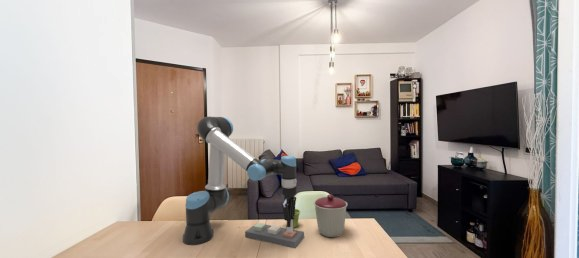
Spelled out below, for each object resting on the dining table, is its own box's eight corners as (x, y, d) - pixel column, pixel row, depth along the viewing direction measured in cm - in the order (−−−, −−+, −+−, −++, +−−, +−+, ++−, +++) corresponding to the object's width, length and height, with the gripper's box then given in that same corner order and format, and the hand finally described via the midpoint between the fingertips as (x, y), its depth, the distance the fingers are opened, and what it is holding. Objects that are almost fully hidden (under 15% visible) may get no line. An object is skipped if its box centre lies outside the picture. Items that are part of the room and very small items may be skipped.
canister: (343, 225, 138) (342, 189, 138) (352, 240, 120) (351, 199, 120) (312, 226, 138) (311, 190, 138) (316, 241, 120) (316, 200, 120)
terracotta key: (283, 239, 120) (283, 233, 120) (287, 235, 125) (287, 229, 125) (292, 241, 118) (292, 235, 118) (296, 236, 123) (296, 231, 123)
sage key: (253, 231, 128) (253, 226, 128) (258, 227, 132) (258, 222, 132) (261, 232, 126) (261, 227, 126) (266, 229, 130) (266, 224, 130)
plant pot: (299, 230, 133) (298, 214, 133) (282, 228, 135) (282, 213, 135) (301, 223, 142) (301, 209, 142) (286, 222, 144) (286, 208, 144)
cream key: (267, 234, 124) (267, 228, 124) (272, 230, 128) (272, 225, 128) (276, 236, 122) (276, 230, 122) (280, 232, 126) (280, 226, 126)
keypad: (245, 237, 126) (245, 231, 126) (257, 228, 137) (257, 222, 137) (295, 248, 114) (294, 242, 114) (304, 237, 124) (304, 231, 124)
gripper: (290, 190, 113) (291, 239, 114) (300, 184, 125) (301, 228, 126) (276, 188, 117) (277, 236, 117) (287, 182, 128) (288, 226, 129)
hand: (289, 232), depth 121 cm, fingers closed
